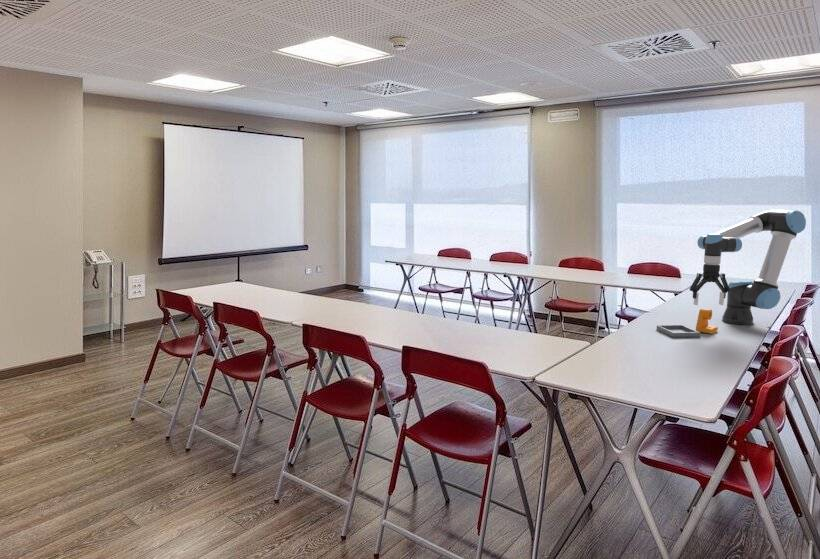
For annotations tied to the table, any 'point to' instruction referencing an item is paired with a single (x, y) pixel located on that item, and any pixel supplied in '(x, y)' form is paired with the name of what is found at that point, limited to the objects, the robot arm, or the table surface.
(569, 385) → the table surface
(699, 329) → the bracket
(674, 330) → the tray
